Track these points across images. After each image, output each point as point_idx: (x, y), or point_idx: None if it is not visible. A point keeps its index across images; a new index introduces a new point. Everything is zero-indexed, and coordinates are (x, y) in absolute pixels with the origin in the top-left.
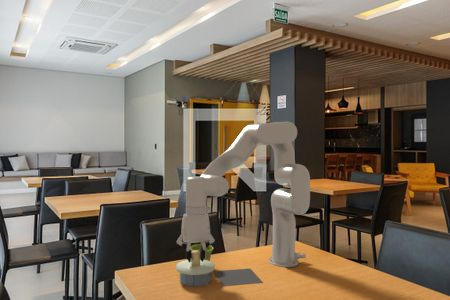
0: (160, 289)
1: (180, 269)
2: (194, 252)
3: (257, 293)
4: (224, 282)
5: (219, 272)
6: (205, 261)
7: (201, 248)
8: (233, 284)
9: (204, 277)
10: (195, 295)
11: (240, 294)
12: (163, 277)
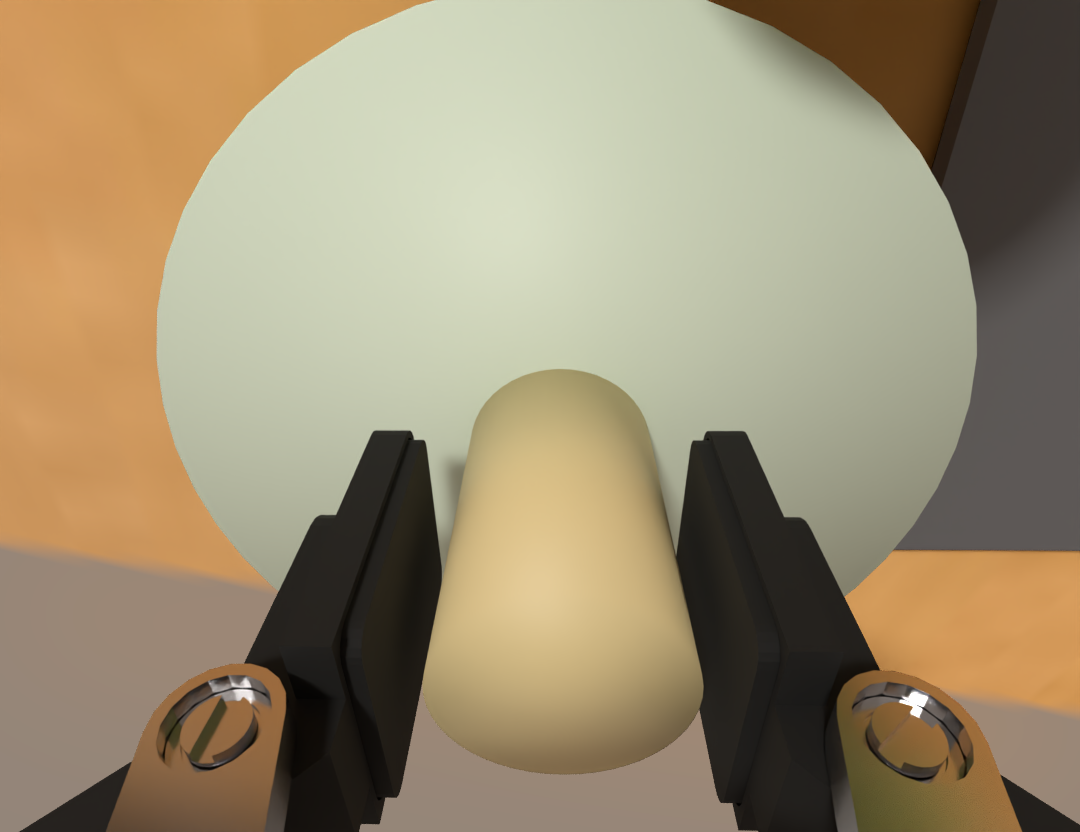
0: (125, 448)
1: (274, 575)
2: (511, 738)
3: (1067, 680)
4: None
5: (1073, 65)
6: (847, 262)
7: (769, 795)
8: (971, 538)
9: None
10: None
11: (909, 671)
12: (30, 16)
